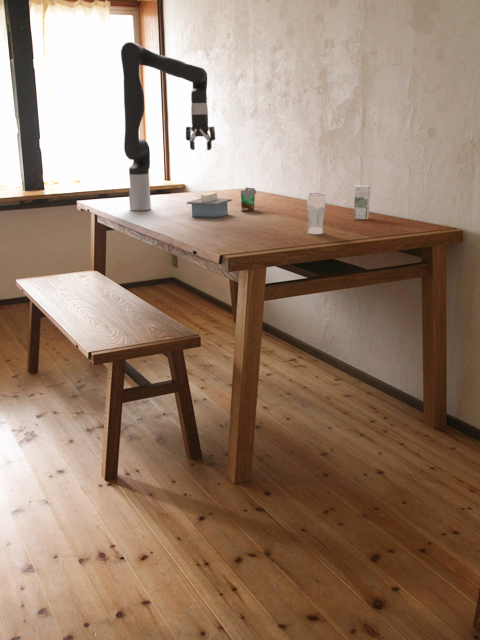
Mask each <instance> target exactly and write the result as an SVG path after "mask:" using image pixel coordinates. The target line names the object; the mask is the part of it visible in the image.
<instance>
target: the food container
mask: <svg viewBox="0 0 480 640" xmlns="http://www.w3.org/2000/svg"><path fill="white" fill-rule="evenodd" d="M256 194H257V191H256V189H255V188H254V187H245V189H243V190H240V199H241V201H240V202H241V203H240V204H241V212H242V213H247V212H248V213H249V212H254V211H255V198H256V197H255V196H256Z"/></svg>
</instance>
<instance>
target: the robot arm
mask: <svg viewBox="0 0 480 640" xmlns="http://www.w3.org/2000/svg"><path fill="white" fill-rule="evenodd" d="M120 58H121V66H122V71H123V103H124V104H123V107H124V142H123V143H124V144H123V145H124V150H123V151H124V153H125V156H126V157H127V158H128V159H129V160H131V161H132V160H133V163H132V165H131V166H130V167H129V169H128V171H129V172H128V173H129V185H130V186H129V188H130V189H128V198H129V209H130V211H138V212H139V211H140V212H141V211H149V210H151V209H152V207H151V206H152V203H151V189H150V188H151V187H150V176H149V175H150V172H149V170H150V165H151V160H150V157H151V153H150V146H149V143H148V141H146V140H145V139H143V138H140V135H139V134H140V126H141V122H142V120H143V118H144V113H145V95H144V90H143V86H142V82H141V79H140V66H146V67H151V68H153V69H156V70H158V71H160V72H163V73H166V75H167V74H168V75H170V76H173V77H176V78H180V79H183V80H186V81H188V82H191V83H192V89H191V90H192V91H191V94H190V96H191V97H190V99H191V111H190V112H191V125H192V126H186V127H185V140H186V141H189V147H190V149H191V151H194V150H195V147H196V146H195V139H196V138H197V137H204V138H205V140H206V150H207V151H211V149H212V145H213V144H212V142H213V141H215V140H216V130H215V126H209V109H208V108H209V107H208V101H207V99H208V98H207V97H208V96H207V95H208V94H207V90H208V89H207V87H208V74H207V71H206V69H205V68H203V67H199V66H196V65H192V64H189V63H186V62H184V61H182V60H179V59H176V58H173V57H170V56H166V55H161V54H158V53H155V52H153V51H150V50H149V49H147V48H145V47H143V46H141V45H140V44H139V43H137V42H132V41H128V42H126V43H124V44H123V45H122V47H121V50H120ZM208 132H209V133H208Z"/></svg>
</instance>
